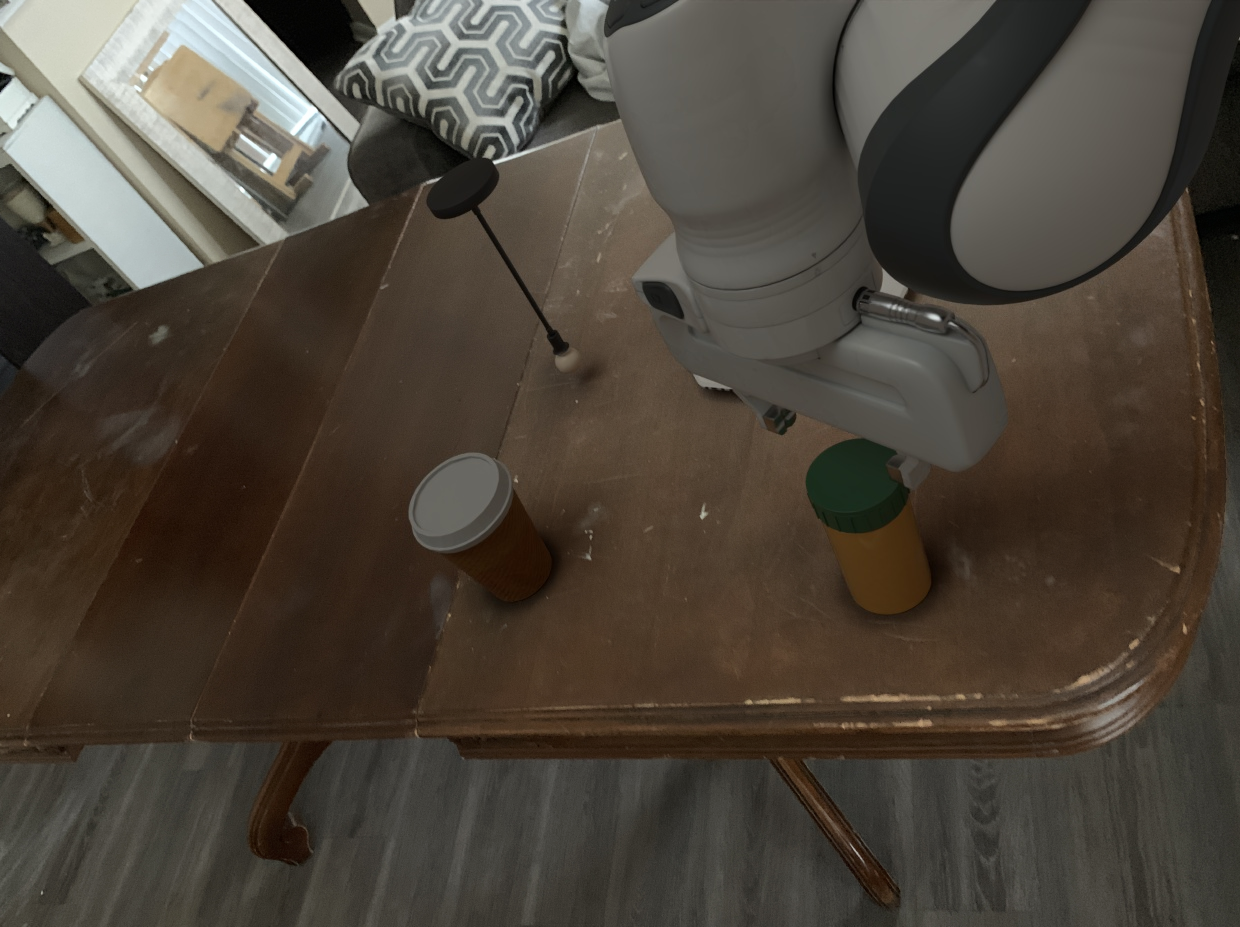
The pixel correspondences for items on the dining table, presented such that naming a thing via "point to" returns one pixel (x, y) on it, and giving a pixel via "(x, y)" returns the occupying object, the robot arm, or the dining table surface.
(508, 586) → the disposable coffee cup
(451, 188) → the light fixture
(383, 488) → the dining table surface
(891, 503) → the lid
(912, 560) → the jar
